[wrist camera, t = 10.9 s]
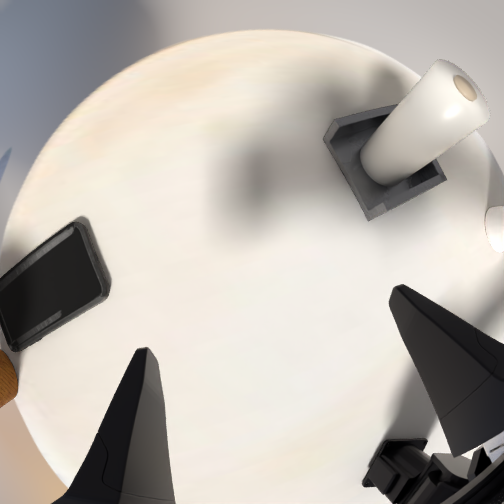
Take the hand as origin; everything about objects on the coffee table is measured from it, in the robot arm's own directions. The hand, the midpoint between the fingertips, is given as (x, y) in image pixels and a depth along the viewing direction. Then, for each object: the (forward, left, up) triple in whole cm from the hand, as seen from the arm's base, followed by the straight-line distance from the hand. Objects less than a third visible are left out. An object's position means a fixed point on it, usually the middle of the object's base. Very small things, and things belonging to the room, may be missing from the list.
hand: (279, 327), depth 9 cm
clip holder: (-8, -16, -14) cm, 23 cm away
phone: (+20, +6, -14) cm, 25 cm away
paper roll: (-8, -16, -13) cm, 23 cm away
